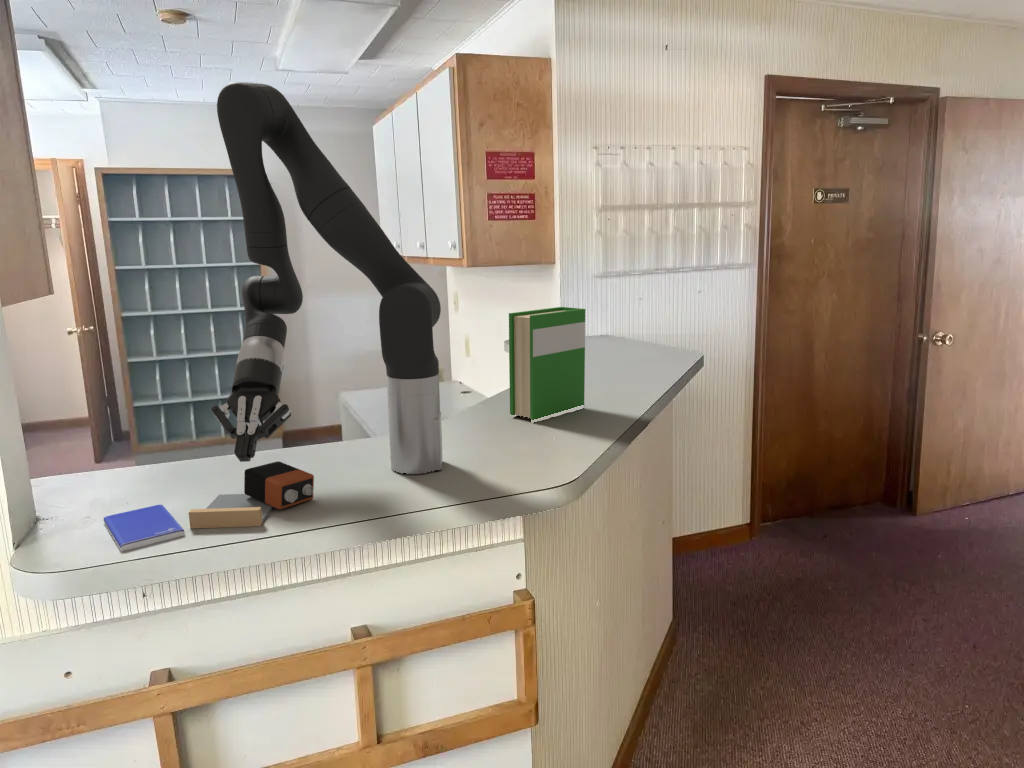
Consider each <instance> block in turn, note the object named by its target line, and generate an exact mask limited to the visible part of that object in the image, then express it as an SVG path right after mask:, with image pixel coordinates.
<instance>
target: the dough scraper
mask: <svg viewBox="0 0 1024 768" xmlns="http://www.w3.org/2000/svg"><path fill="white" fill-rule="evenodd" d="M273 509H274V507H272V506H270V505H268V504H266V503H264V502H261V501H259V500H257V499H255V498H253V497H250V496H248V495H246V494H245V493H233V494H232V493H231V494H230V493H229V494H226V493H225V494H218V495H217V496H216V497H215V498H214V500H212V502H210V503H209V505H208V506H207V507H205V508H192V509H190V510H189V511H188V520H189V528H190V529H216V528H217V529H218V528H245V527H247V528H248V527H249V528H250V527H261V526H262V524H263V523H264V521H266V519H267V518H268V516H269V514H270V513H271V512H272V510H273Z"/></svg>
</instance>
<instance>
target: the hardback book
mask: <svg viewBox="0 0 1024 768" xmlns="http://www.w3.org/2000/svg"><path fill="white" fill-rule="evenodd" d="M508 354H509V355H508V356H509V359H508V360H509V363H508V365H509V367H508V368H509V372H508V373H509V415H510V414H511V415H515V414H516V415H520V417H521V416H523V417H522V418H525V417H528V418H527V419H529V418H530V419H532V420H534V419H538V418H541V417H544V416H548V415H551V414H554V413H558V412H561V411H564V410H568V409H571V408H574V407H577V406H581V405H584V406H585V381H586V380H585V379H586V378H585V375H586V374H585V371H586V369H585V368H586V364H585V363H586V360H585V359H586V308H579V307H566V306H557V307H550V308H541V309H533V310H523V311H515V312H508ZM530 419H529V420H530Z"/></svg>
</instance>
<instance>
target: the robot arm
mask: <svg viewBox="0 0 1024 768" xmlns="http://www.w3.org/2000/svg"><path fill="white" fill-rule="evenodd" d="M216 102H217V103H216V112H217V118H218V124H219V127H220V132H221V134H222V138H223V142H224V145H225V149H226V152H227V155H228V160H229V163H230V167H231V170H232V174H233V179H234V181H235V186H236V189H237V193H238V198H239V202H240V207H241V213H242V220H243V227H244V229H243V230H244V236H245V245H246V254H247V257H248V260H249V261H250V262H252V263H254V264H257V265H262V266H266V267H268V268H271V269H272V270H273V271H274V273H276V275H253V276H250V277H248V278H247V279H246V280H245V281H244V282H243V285H242V286H241V297H242V302H243V307H244V315H245V316H244V317H245V324H244V325H245V327H244V328H245V329H244V332H243V338H242V341H241V342H242V343H241V347H240V349H239V351H238V354H237V355H238V356H237V360H236V365H235V370H234V377H233V380H232V385H231V393H230V394H229V395H228V396H227V399H226V402H225V403H224V404H222V405H221V406H218V405H214V406H212V407H211V412H212V413H213V415H214V417H215V418H216V419H217V421H218V422H219V424H220V425H221V426H222V428H223V429H224V431H226V433H227V434H228V436H229V437H230V438H231V439H233V440H234V439H236V442H235V446H234V455H235V457H236V458H237V459H238V461H239V462H240V463H241V462H242V463H243V462H248V463H249V462H251V460H252V459H253V458H254V457H255V455H256V450H257V445H258V441H259V440H260V439H262V438H263V439H268V438H270V437H271V436H272V435H273V434H274V433H275V432H276V431H277V430H278V429H279V428H280V427H282V425H283V424H284V423H285V422H286V421H287V420H289V419H290V418H291V416H292V412H291V409H290V408H289V406H288V405H289V404H286V403H285V404H284V403H282V402H281V399H280V397H279V396H280V395H279V394H280V389H281V382H282V376H283V372H284V364H285V363H284V361H285V355H284V353H285V346H286V340H287V332H288V328H287V324H286V322H285V320H284V319H283V318H282V317H280V316H279V315H293V314H295V313H297V312H298V311H299V310H300V309H301V307H302V304H303V299H304V295H303V291H302V287H301V283H300V282H299V279H298V276H297V275H296V272H295V270H294V266H293V263H292V260H291V257H290V254H289V253H290V252H289V246H288V236H287V227H286V219H285V215H284V212H283V208H282V205H281V203H280V201H279V199H278V196H277V194H276V192H275V191H274V188H273V187H272V183H271V182H270V180H269V178H268V173H266V172H267V171H266V169H265V165H264V158H263V142H264V143H265V145H266V146H267V147H269V148H270V149H271V151H273V153H274V154H275V155H276V157H277V158H278V159H279V160H280V161H281V163H282V164H283V165H284V167H285V168H286V170H287V171H288V173H289V175H290V178H291V180H292V185H293V188H294V193H295V197H296V200H297V203H298V205H299V208H300V210H301V212H302V214H303V215H304V216H305V218H306V220H307V221H308V222H309V223H310V225H311V226H312V227H313V228H314V230H315V231H316V233H318V235H319V236H320V237H321V238H322V239H323V240H324V241H325V243H326V244H327V245H328V246H330V248H332V249H333V250H334V251H335V252H336V253H337V254H338V255H340V256H341V257H343V259H345V260H346V261H347V262H348V263H350V265H353V266H354V267H355V268H356V269H358V270H359V271H360V272H361V273H362V274H363V275H364V276H365V277H366V278H367V279H368V280H369V281H370V282H371V284H372V285H373V286H374V287H375V289H376V290H377V292H378V293H379V294H380V296H381V300H380V303H379V310H378V323H379V336H380V337H379V338H380V349H381V356H382V359H383V363H384V365H385V369H386V372H385V373H386V391H387V392H386V393H387V410H388V411H387V413H388V427H389V428H388V431H389V433H388V434H389V449H390V451H389V452H390V453H389V455H390V457H389V458H390V466H391V467H390V468H391V470H392V471H394V472H395V471H396V473H398V472H399V474H403V473H406V474H405V475H421V474H422V473H423V474H428V473H427V472H429V473H432V472H435V471H434V470H441V469H443V461H442V460H443V457H444V455H443V429H442V428H443V427H442V412H441V398H440V397H441V395H440V366H439V364H440V363H439V358H438V357H437V356H436V352H435V350H434V349H435V348H434V332H433V327H435V326H436V324H437V323H438V322H439V319H440V316H441V312H442V310H441V301H440V298H439V295H438V294H437V293H436V291H435V290H434V289H433V287H431V286H430V284H429V283H428V282H426V281H425V279H423V277H422V276H420V274H418V272H417V271H416V270H415V269H414V268H413V267H412V266H411V264H409V263H408V261H407V260H406V259H405V258H404V257H403V256H402V255H401V254H400V252H399V251H398V250H397V249H396V248H395V246H394V245H393V243H392V241H391V240H390V239H389V237H388V236H387V234H386V233H385V232H384V230H383V228H382V227H381V226H380V225H379V223H378V222H377V221H376V219H375V217H373V215H372V214H371V213H370V212H369V210H368V209H367V207H366V206H365V204H364V203H363V202H362V201H361V199H360V198H359V197H358V195H357V194H356V193H355V192H354V191H353V189H352V188H351V186H350V185H349V184H348V182H347V181H346V180H345V179H344V178H343V177H342V176H341V175H340V173H339V171H337V169H336V168H335V167H334V165H333V164H332V162H331V161H330V160H329V159H328V158H327V156H326V155H325V154H324V152H323V151H322V150H321V149H320V147H318V145H317V143H316V142H315V140H313V138H312V136H311V135H310V133H309V132H308V130H307V129H306V128H305V127H306V126H304V124H303V122H302V120H300V118H299V116H298V115H297V113H296V111H295V110H294V108H293V107H292V105H291V104H290V101H288V100H287V98H286V97H285V95H284V94H283V93H282V92H280V90H278V89H277V88H275V87H274V86H273V85H269V84H265V83H258V82H256V83H255V82H244V81H243V82H242V81H237V82H235V81H234V82H230V83H228V84H226V85H224V86H223V88H222V89H221V90H220V92H219V93H218V97H217V101H216ZM230 410H231V413H232V414H233V415H234V416H235V418H236V422H237V424H236V425H237V427H235V426H234V425H233V424H232V423H231V421H230V420H229V418H230V415H231V414H230ZM431 471H432V472H431ZM441 471H442V470H441Z"/></svg>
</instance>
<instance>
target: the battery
mask: <svg viewBox="0 0 1024 768" xmlns="http://www.w3.org/2000/svg"><path fill="white" fill-rule="evenodd" d="M243 475H244V476H243V477H244V484H243V485H244V486H243V487H244V489H243V490H244V493H243V494H246V495H248V496H250V497H253V498H255V499H257V500H259V501H261V502H264V503H266V504H268V505H270V506H272V507H273V508H275V509H277V510H282V509H286V508H290V507H294V506H295V505H299V504H302V503H306V502H308V501H311V500H313V499H314V491H315V488H314V487H315V486H314V484H315V482H314V481H315V476H314V474H312V473H309V472H308V471H305V470H302V469H299V468H297V467H294V466H292V465H289V464H287V463H284V462H282V461H280V460H279V461H273V462H269V463H266V464H262V465H258V466H254V467H249V468H246V469H245V470H244V474H243Z"/></svg>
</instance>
